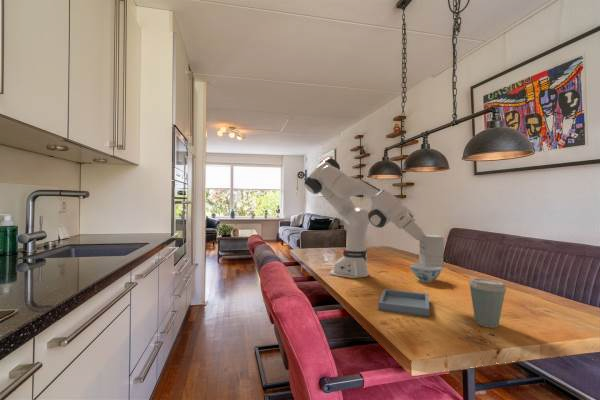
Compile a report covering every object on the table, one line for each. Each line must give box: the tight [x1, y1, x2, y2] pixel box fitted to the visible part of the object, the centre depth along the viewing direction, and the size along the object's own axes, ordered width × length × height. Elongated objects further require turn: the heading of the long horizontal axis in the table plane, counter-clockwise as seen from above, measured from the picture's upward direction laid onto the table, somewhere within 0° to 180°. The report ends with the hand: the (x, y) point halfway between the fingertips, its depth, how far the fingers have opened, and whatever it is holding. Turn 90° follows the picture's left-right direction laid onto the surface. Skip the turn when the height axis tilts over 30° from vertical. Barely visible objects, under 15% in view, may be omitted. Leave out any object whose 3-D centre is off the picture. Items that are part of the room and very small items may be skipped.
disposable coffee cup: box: [468, 277, 507, 329], centre depth 95 cm, size 11×11×15 cm
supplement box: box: [418, 234, 445, 268], centre depth 117 cm, size 7×7×13 cm
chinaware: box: [410, 262, 443, 283], centre depth 148 cm, size 15×15×8 cm
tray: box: [378, 288, 431, 318], centre depth 113 cm, size 18×18×3 cm
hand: (429, 243), depth 117 cm, fingers closed on supplement box, 8 cm apart
